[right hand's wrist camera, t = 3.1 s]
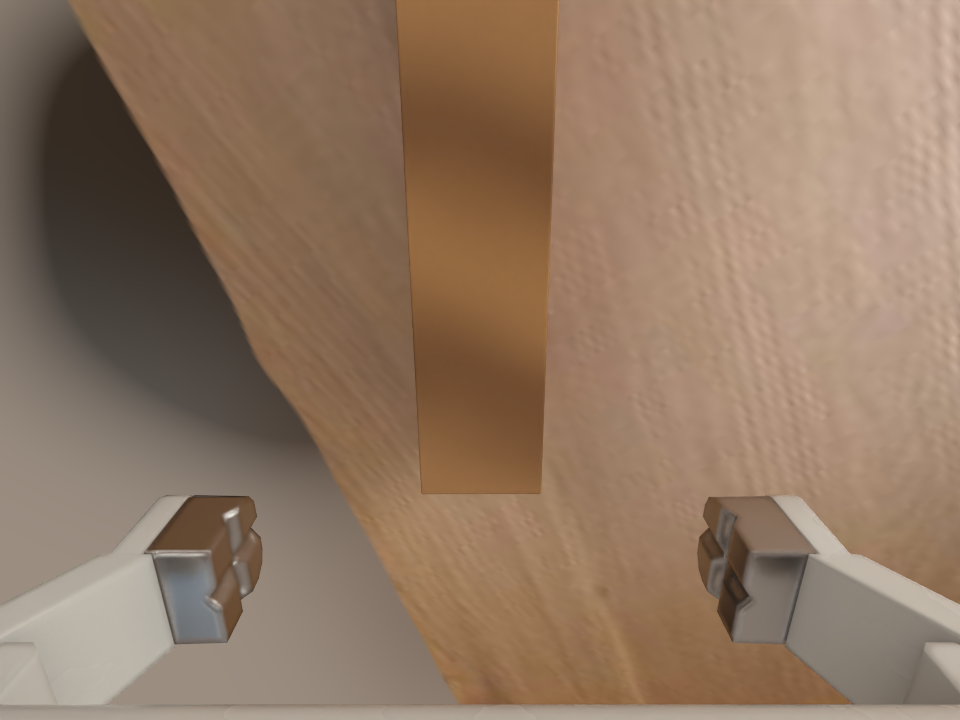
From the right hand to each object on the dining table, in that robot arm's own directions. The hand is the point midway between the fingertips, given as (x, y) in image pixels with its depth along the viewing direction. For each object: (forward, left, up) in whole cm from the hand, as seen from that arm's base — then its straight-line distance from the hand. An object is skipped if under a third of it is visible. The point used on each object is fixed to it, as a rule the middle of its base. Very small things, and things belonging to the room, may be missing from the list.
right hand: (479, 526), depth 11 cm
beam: (+21, -23, -17) cm, 36 cm away
